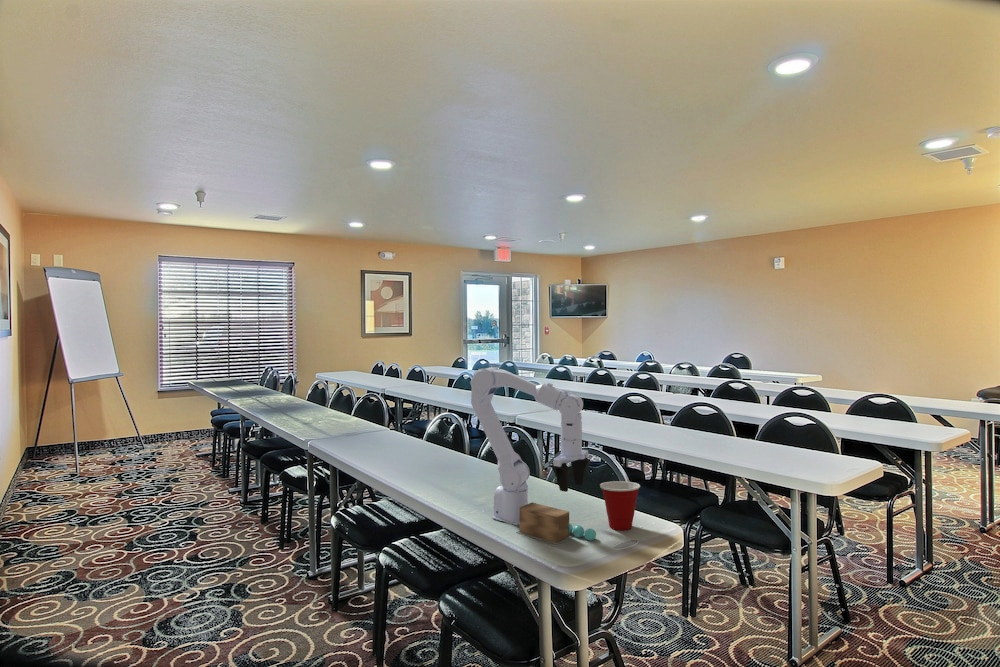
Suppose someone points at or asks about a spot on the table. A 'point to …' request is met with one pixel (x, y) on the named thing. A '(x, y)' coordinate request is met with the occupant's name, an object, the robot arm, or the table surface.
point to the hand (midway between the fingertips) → (571, 487)
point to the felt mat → (542, 539)
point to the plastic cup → (620, 503)
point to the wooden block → (544, 522)
